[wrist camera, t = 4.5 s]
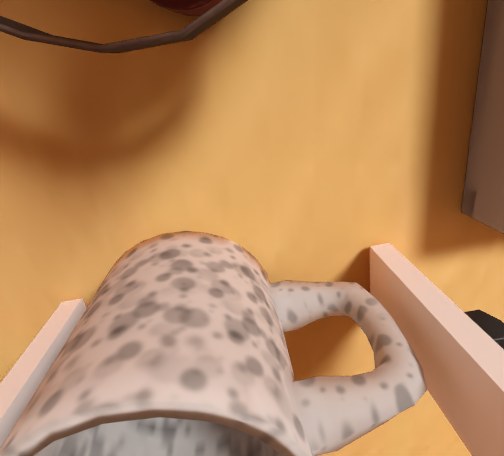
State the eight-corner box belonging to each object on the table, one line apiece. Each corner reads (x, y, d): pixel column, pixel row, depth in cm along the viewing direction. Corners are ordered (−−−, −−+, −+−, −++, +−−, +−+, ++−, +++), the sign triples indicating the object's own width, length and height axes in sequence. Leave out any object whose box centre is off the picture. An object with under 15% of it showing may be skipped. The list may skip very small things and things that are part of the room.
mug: (139, 383, 14) (74, 610, 8) (71, 254, 11) (-108, 452, 5) (361, 332, 14) (468, 523, 8) (348, 190, 11) (499, 314, 5)
